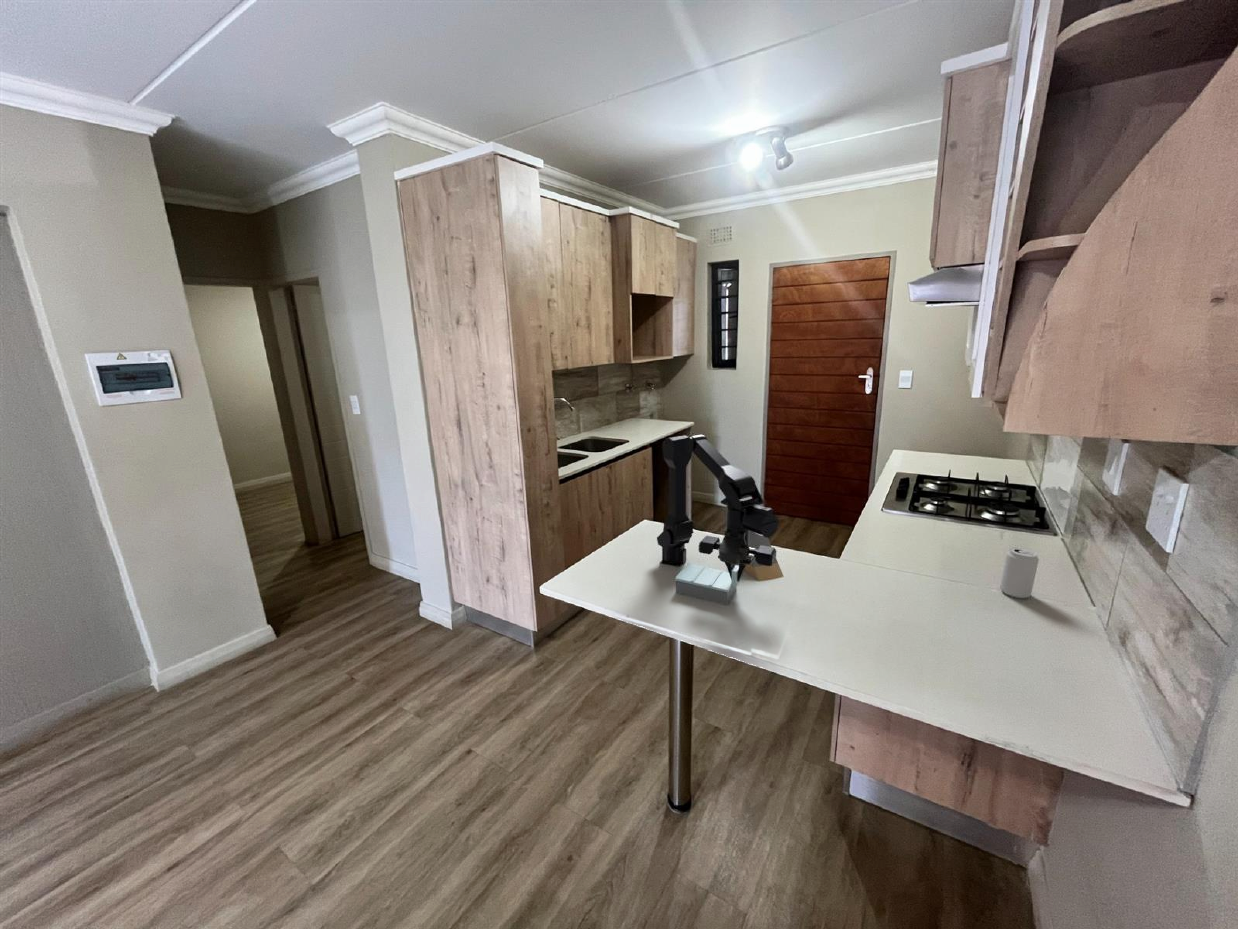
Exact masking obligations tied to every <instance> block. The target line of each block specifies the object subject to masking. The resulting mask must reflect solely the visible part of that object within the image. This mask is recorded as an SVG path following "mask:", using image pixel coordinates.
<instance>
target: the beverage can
mask: <svg viewBox="0 0 1238 929" xmlns="http://www.w3.org/2000/svg"><path fill="white" fill-rule="evenodd" d="M1039 559H1040V558H1039V557H1038V553H1037V552H1036V551H1034V550H1031V549H1029V548H1026V547H1018V546H1013V547H1009V549H1008V551H1006V554H1005V560H1004V564H1003V570H1002V574H1001V579H1000V584H999V589H1000V590H1001V591H1002V593H1004V594H1005V595H1007V596H1009V597H1012V598H1016V599H1026V598H1029V597H1031V596H1032V592H1033V587H1034V584H1035V578H1036V574H1037V569H1038V565H1039Z"/></svg>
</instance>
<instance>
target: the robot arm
mask: <svg viewBox="0 0 1238 929" xmlns="http://www.w3.org/2000/svg"><path fill="white" fill-rule="evenodd" d="M661 449H662V455H663V456H662V457H663V460H664V461H665V463H666V464H667V466H668V515H667V516H666V518H665V520H664V522H663V528H662V529H663V531H662V532H661V533H660V534H659V535H658V536H657V537H656V541H657V545H658V546H660V547H661V560H660V562H659V564H662V565H667V566H671V567H676V568H679V567H680V568H681V566H683V565H684V564H685V563H686V562H687V549H686V544H689V543H690V540H691V538H692V536H693V534H694V522H693V520H692V519H690V518H689V516H688V515H687V467H688V465H689V463H690V461H691V459H692V457H693V454H694V455H695V457H696V458H698V460H699V461H700V462H701V463H702V464H703V465H704V467H706V468H707V469H708V470H709V471H710V473H711V474H712V475H714V477H715V478H716V480H717V482H718V483H717V484H718V488H719V490H720V491H721V493H722V494H723V495H724V498H723V499H722V500H720V504H722V505H724V506H726V518H725V519H726V521H725V522H726V523H725V530H724V536H723V539H722V541H721V539H720V537H717V536H711V535H705V536H704V537H703V538H702V539H701V540H700V542H699V544H698V553H700V554H706V555H711V554H713V552H714V550H716V551H718V556H717V559H719V560H720V561H721V562H722V563H723V562H724V564H725V566H726V569H727V572H729V575H730V577H731V580H732V570H733V568H734V567H735V565H738V563H739V565H738V566H739V569H738V576H737V581H738V582H739V581H740V582H741V579H742V576H743V573H744V572H745V570H744V569H745V567H746V565H747V564H748V565H750V564H751V563H752V562H753V560H754V558H755V557H756V558H755V561H756V562H757V563H758V564H760V565H766V566H772V565H773V563H774V561H775V559H777V553H778V551H777V549H776V548H775V547H774V546H771V547H768V546H763V545H761V546H760V547H759V549H755V548H750V547H749V531H752V532H754V533H756V534H759V535H761V536H763V537H766V538H768V539H769V538H771V537H773V536H774V535H775V533H776V532H777V530H778V528H779V521H778V518H777V516H776V515H775V514H773V512H774V509H773V508H771V507H765V506H762V505H763V504H764V503H765V501H764V499H763V497H762V496H763V495H761V493H760V491H759V489H758V486H757V484H756V481H755V479H754V477H753V476H752V475H751V474H749V473H747V471H745V470H743V469H740V468H738V467H735V466H733V465H732V464H731V463H730V462H729V461H728V460H727V459H726V458H725V457H724V456H723V455H722V454H721V453H720V452H719V451H718V450H717V449H716V448H715V447H714V446H713V445H712V444H711V443H710V442H709V441H708V439H707V436H706V435H703V434H694V435H690V436H687V435H685V434H684V435H678V436H672V437H667V438H665V440H664V441H663V442H662V446H661ZM742 499H744V500H742ZM740 582H739V583H740Z"/></svg>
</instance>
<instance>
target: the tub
mask: <svg viewBox="0 0 1238 929" xmlns="http://www.w3.org/2000/svg"><path fill="white" fill-rule="evenodd" d="M737 587H738V586H737ZM737 587H736V588H731V589H730V590H729V592H728V593H727V592H723V591H719V590H714V589H710V588H706V587H701V586H697V585H693V584H688V583H684V582H680V581H675V594H679V595H684V596H687V597H691V598H696V599H699V600H704V601H708V602H712V603H715V604H716V603H717V604H720V605H725V606H728V605H729V602H730V601H731V599H732V598H733V595H735V593H736V590H737Z"/></svg>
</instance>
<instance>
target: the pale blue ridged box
mask: <svg viewBox="0 0 1238 929" xmlns="http://www.w3.org/2000/svg"><path fill="white" fill-rule="evenodd" d="M738 569H739V565H738V564H735V567H734V568H733V570H732V580H731V577H730V575H729V572H728V571H724V570H721V569H715V568H710V567H707V566H701V565H695V564H693V563H692V564H691V563H687V564H686V565H685V566H684V567H683V568H682V570H681V571H680V572H679V573H678V574H677V575H676V577H674V581H675V582H676V581H680V582H684V583H688V584H693V585H697V586H701V587H706V588H710V589H714V590H719V591H723V592H727V593H728V592H729V590H730V589H731V588H736V587H738V586H739V584H740V582H741V580H740V581H739V582H738V581H737V576H738Z"/></svg>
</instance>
